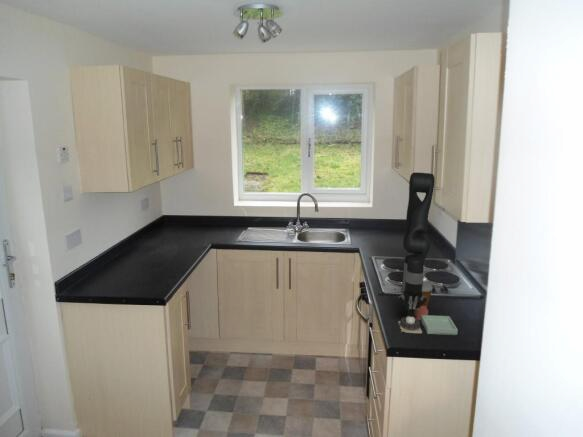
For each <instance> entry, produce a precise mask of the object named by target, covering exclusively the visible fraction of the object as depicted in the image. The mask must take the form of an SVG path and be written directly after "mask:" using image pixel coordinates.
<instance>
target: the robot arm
mask: <svg viewBox="0 0 583 437" xmlns="http://www.w3.org/2000/svg"><path fill="white" fill-rule="evenodd" d="M434 189H435V176H434V174H433V173H431V172H429V173H428V172H412V173H411V174H410V176H409V185H408V203H407V207H406V208H407V209H406V219H405V230H404V234H403V242H402V245H403V249H404V250H405V251H406V252H407V253H410V254H408V255H406V256H405V257H404V261H403V262H404V263H403V274H402V287H401V292H402V294H401V295H398V299H399V302H401V304H402V305H403V306H404V307H405V309H407V316H410V317H415V309H416V308H420V307H421V306H422V305H423V304H424V303H425V302H426V301H427V299H426V297H425V296H423V294H422V286H423V281H424V268H425V261H426V258H427V257H428V253H429V251H430V248H431V242H430V240H429V239H428V238H425V234H426V233H427V232H428V225H429V224H428V223H429V214H430V208H431V204H432V199H433V195H434ZM418 193H422V194H425V195H424V197H423V198H424V199H422V200H421V198H420V197H419V196H418ZM420 298H421V300H420V301H419V302H418V303H417V301H418V300H419V299H420ZM405 300H407V302H406V301H405Z"/></svg>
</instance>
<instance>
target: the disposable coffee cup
mask: <svg viewBox="0 0 583 437" xmlns="http://www.w3.org/2000/svg"><path fill="white" fill-rule="evenodd" d="M433 289H434V287H433V284H432V283H430V282H429V281H425V280H423V286H422V294H423V296H425V297H426V299H427V301H426V302H425V303H424V304H423V305H422V306H426V308H427V309H428V307H429V302H430V299H431V295H432V291H433ZM420 300H421V298H420V299H419V300H418V301H417V303H418V302H419V301H420Z"/></svg>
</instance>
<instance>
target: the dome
mask: <svg viewBox="0 0 583 437" xmlns="http://www.w3.org/2000/svg"><path fill="white" fill-rule="evenodd" d="M405 317H406V323H409V324H415V319H416V317H415V316H413V317H410V316H409V315H407V316H405Z"/></svg>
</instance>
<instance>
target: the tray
mask: <svg viewBox="0 0 583 437" xmlns="http://www.w3.org/2000/svg"><path fill="white" fill-rule="evenodd" d="M420 323H421V324H422V326H423V328H424V330H425V332H426V333H427V335H443V336H444V335H448V336H450V335H451V336H457V335H458V328H457V326H456V324H455V323H454V321H453V320H452V318H451V316H450V315H429V314H428V315H421V320H420Z"/></svg>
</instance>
